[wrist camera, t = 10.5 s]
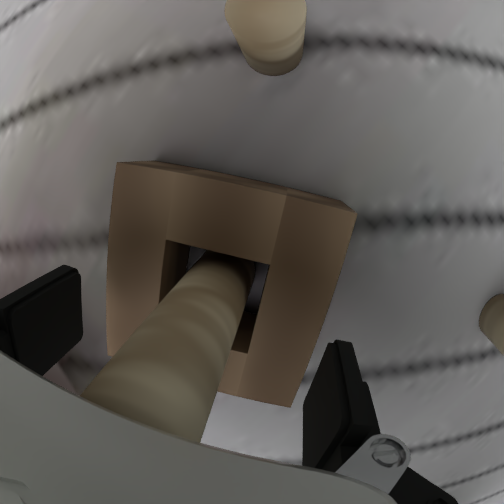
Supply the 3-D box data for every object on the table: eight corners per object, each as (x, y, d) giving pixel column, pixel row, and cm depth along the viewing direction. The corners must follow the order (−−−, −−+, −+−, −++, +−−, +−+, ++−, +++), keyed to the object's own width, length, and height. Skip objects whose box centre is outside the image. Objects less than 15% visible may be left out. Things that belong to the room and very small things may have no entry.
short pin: (307, 32, 13) (312, -15, 8) (296, 81, 14) (298, 47, 9) (250, 22, 13) (234, -25, 8) (238, 70, 14) (216, 35, 9)
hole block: (341, 201, 15) (357, 213, 11) (291, 363, 18) (290, 407, 14) (154, 160, 16) (116, 162, 12) (137, 321, 19) (107, 354, 15)
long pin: (260, 249, 17) (198, 426, 5) (248, 300, 17) (187, 491, 6) (205, 236, 17) (63, 373, 5) (197, 287, 18) (83, 450, 6)
